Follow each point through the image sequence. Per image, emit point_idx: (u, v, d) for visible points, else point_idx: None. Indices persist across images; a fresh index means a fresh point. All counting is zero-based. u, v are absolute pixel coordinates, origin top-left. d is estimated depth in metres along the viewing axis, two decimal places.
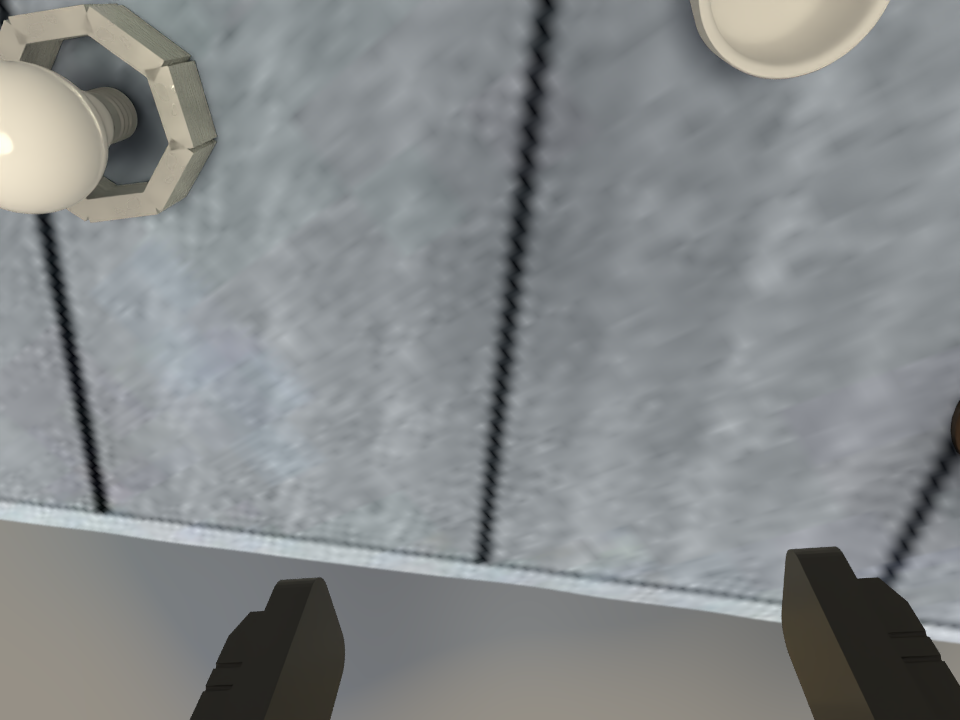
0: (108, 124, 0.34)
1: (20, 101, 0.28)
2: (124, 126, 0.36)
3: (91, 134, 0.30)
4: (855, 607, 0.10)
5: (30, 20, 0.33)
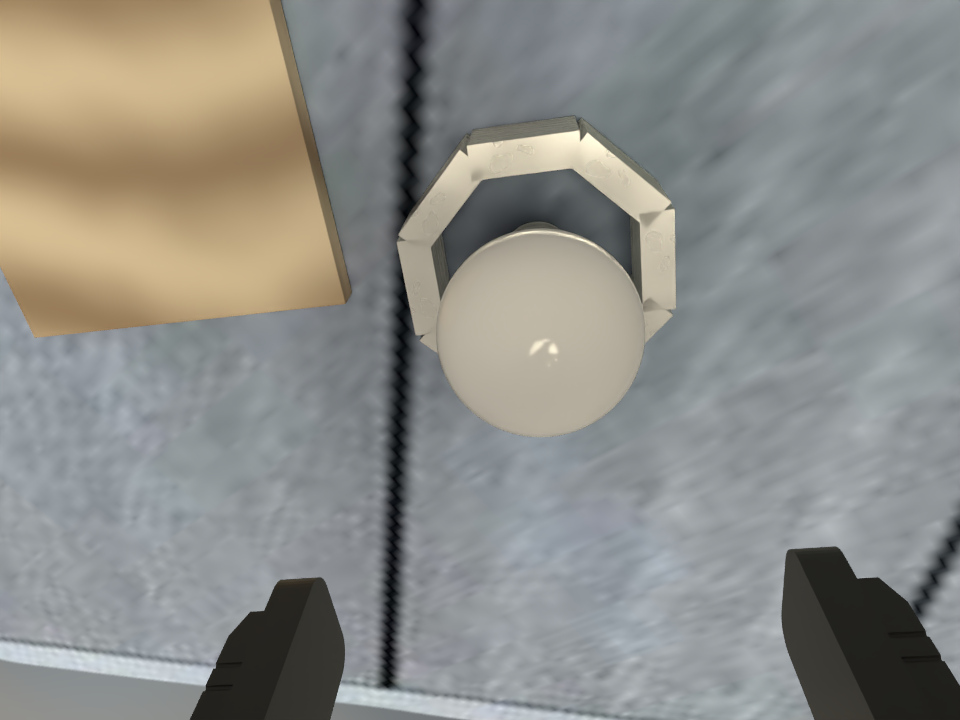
0: None
1: (604, 305, 0.19)
2: None
3: None
4: (855, 607, 0.10)
5: (496, 150, 0.24)
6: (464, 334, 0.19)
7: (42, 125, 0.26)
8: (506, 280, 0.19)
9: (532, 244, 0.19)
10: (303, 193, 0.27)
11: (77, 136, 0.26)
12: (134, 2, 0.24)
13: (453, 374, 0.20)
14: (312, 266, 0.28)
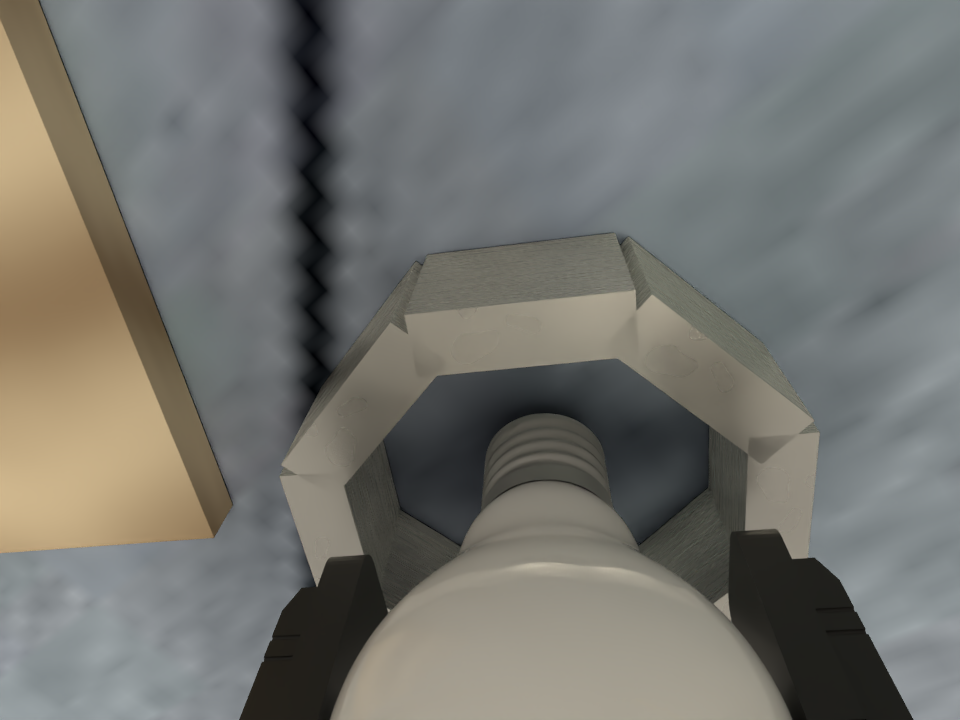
0: None
1: None
2: None
3: None
4: (787, 584, 0.10)
5: (465, 324, 0.12)
6: None
7: None
8: None
9: (542, 672, 0.07)
10: (118, 369, 0.15)
11: None
12: None
13: None
14: (150, 482, 0.16)
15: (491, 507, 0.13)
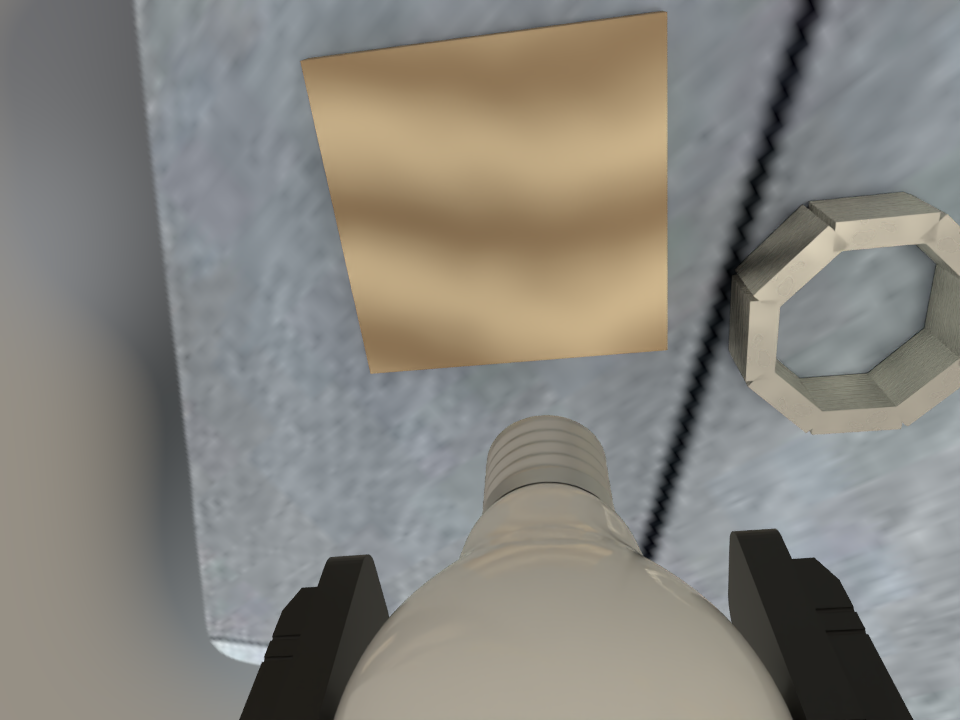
0: None
1: None
2: None
3: None
4: (787, 584, 0.10)
5: (861, 226, 0.27)
6: None
7: (431, 191, 0.29)
8: None
9: (545, 675, 0.07)
10: (654, 254, 0.30)
11: (460, 201, 0.29)
12: (544, 91, 0.27)
13: None
14: (645, 317, 0.31)
15: (492, 510, 0.13)
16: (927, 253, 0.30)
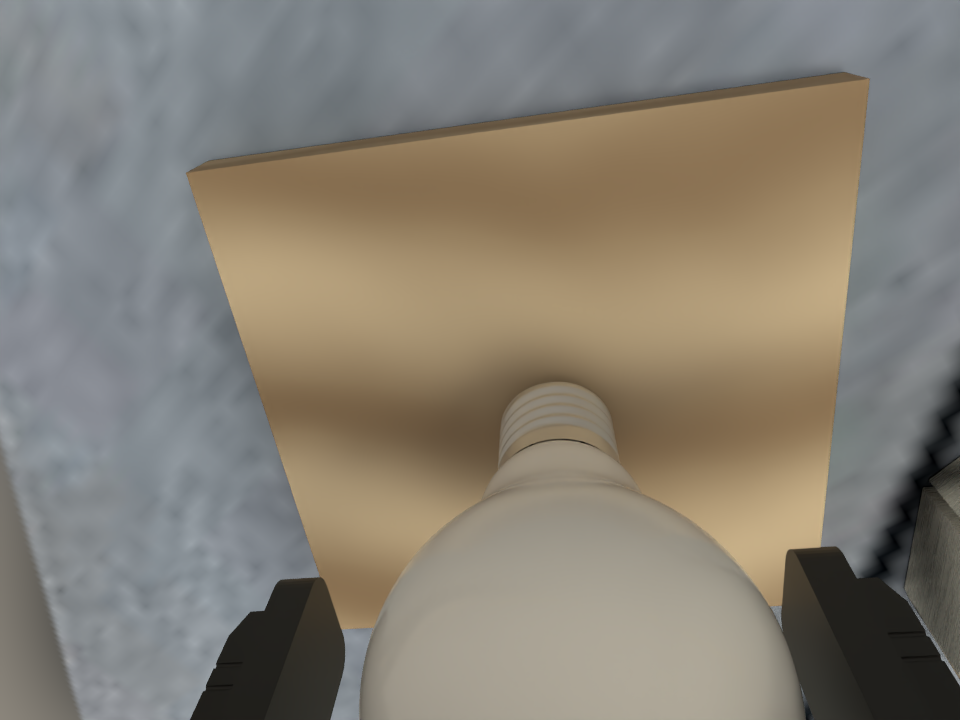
0: None
1: None
2: None
3: None
4: (855, 607, 0.10)
5: None
6: None
7: (426, 379, 0.17)
8: (506, 694, 0.08)
9: (564, 581, 0.08)
10: (805, 472, 0.18)
11: (477, 394, 0.17)
12: (629, 219, 0.15)
13: None
14: (782, 559, 0.19)
15: (509, 463, 0.14)
16: None
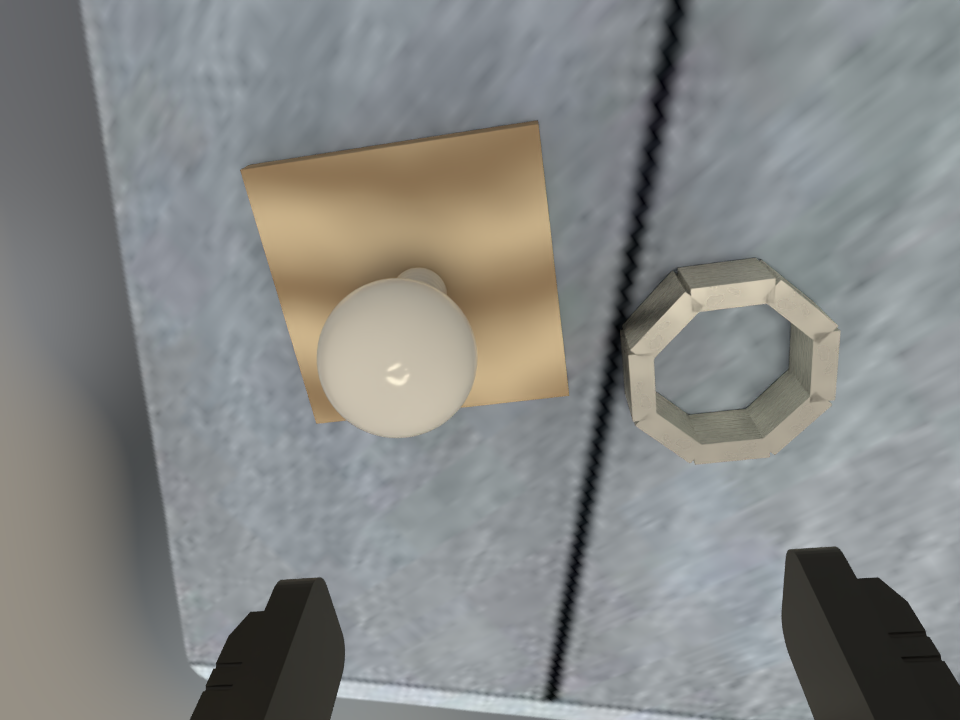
0: None
1: (432, 337, 0.25)
2: None
3: (476, 354, 0.28)
4: (855, 607, 0.10)
5: (712, 292, 0.32)
6: (330, 360, 0.26)
7: (356, 271, 0.35)
8: (358, 320, 0.25)
9: (380, 292, 0.26)
10: (549, 316, 0.35)
11: (382, 278, 0.35)
12: (444, 188, 0.33)
13: (326, 391, 0.27)
14: (547, 368, 0.37)
15: None
16: None
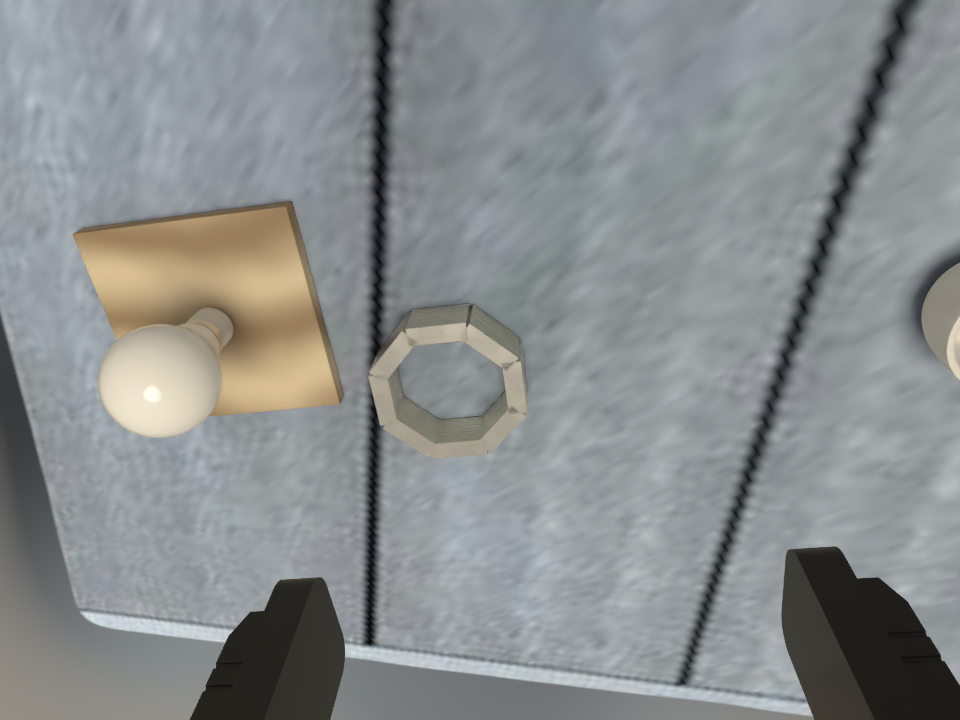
0: (217, 350, 0.42)
1: (167, 369, 0.37)
2: (225, 341, 0.45)
3: (214, 379, 0.39)
4: (855, 607, 0.10)
5: (421, 331, 0.44)
6: (100, 384, 0.37)
7: (167, 308, 0.46)
8: (117, 357, 0.37)
9: (137, 337, 0.37)
10: (315, 345, 0.47)
11: (187, 314, 0.46)
12: (224, 250, 0.44)
13: (103, 404, 0.38)
14: (320, 383, 0.48)
15: None
16: None
